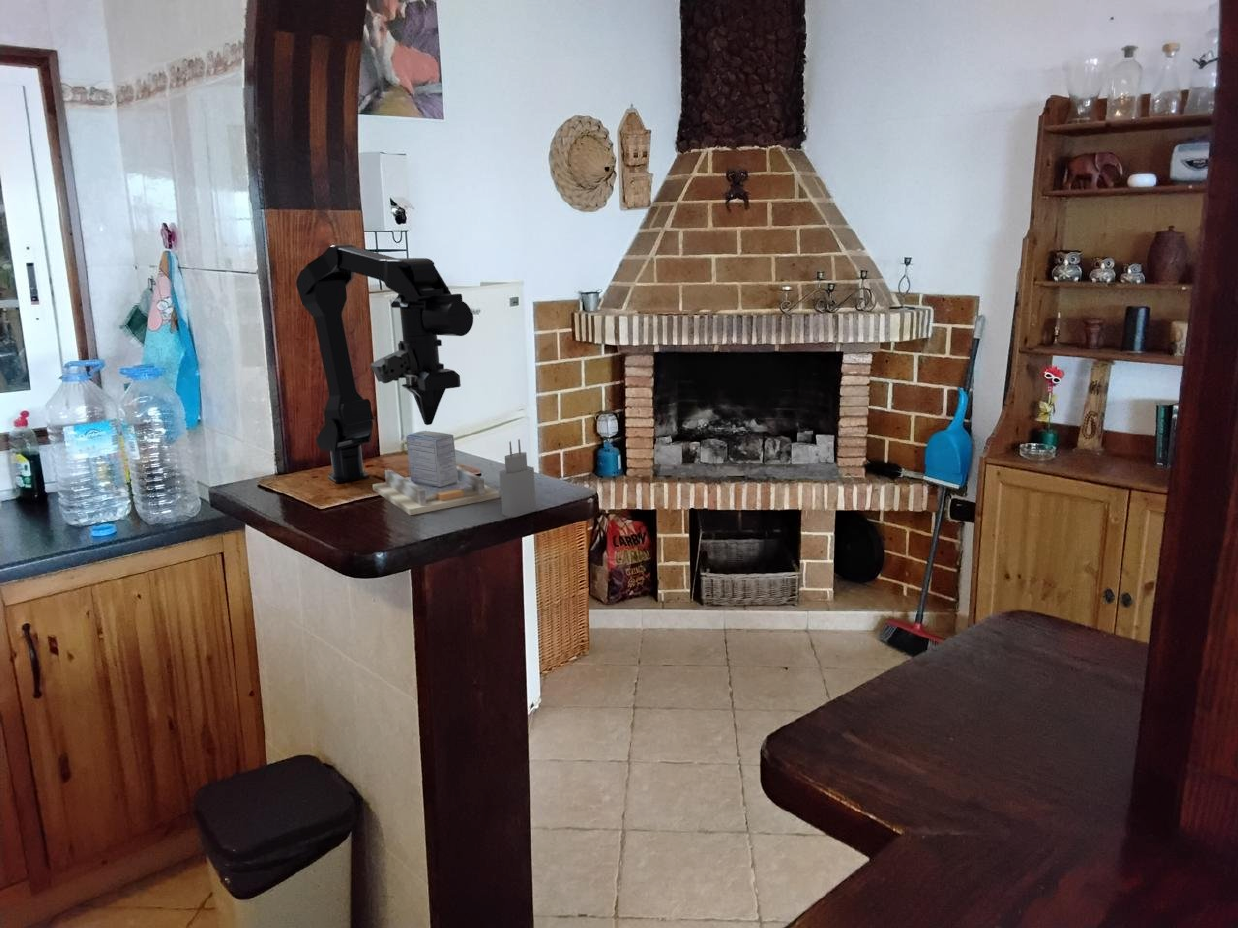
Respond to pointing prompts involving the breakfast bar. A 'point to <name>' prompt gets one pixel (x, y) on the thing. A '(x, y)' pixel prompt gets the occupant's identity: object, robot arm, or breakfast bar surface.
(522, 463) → the power adapter
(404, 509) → the rail board
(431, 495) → the rail carriage
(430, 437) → the medicine box
